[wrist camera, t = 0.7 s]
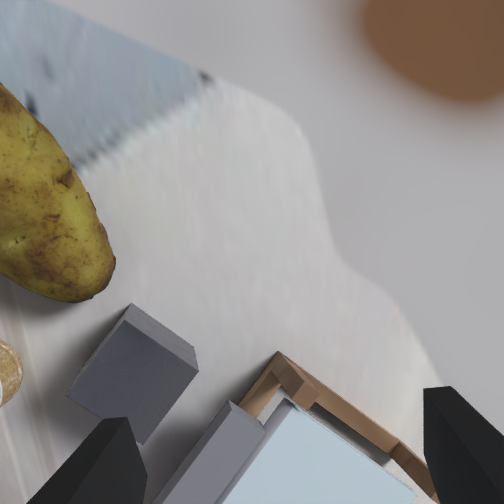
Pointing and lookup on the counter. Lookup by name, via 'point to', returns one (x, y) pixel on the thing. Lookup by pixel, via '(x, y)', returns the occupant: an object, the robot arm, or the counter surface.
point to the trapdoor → (278, 465)
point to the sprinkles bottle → (9, 372)
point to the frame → (312, 390)
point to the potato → (46, 214)
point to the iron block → (135, 373)
